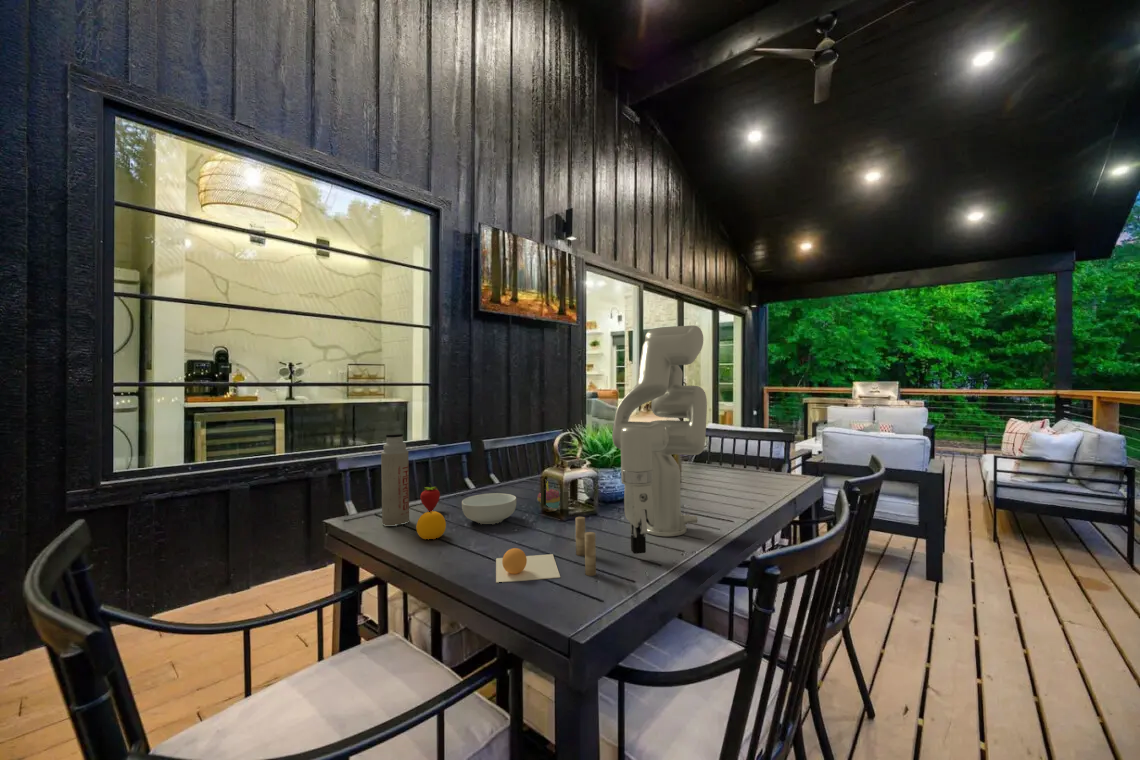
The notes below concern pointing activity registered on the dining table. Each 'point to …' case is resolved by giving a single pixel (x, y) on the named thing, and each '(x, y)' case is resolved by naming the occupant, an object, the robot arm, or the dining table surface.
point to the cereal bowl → (489, 507)
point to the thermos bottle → (395, 481)
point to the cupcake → (551, 497)
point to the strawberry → (430, 497)
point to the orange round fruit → (431, 525)
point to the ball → (514, 561)
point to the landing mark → (529, 569)
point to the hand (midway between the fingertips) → (638, 551)
